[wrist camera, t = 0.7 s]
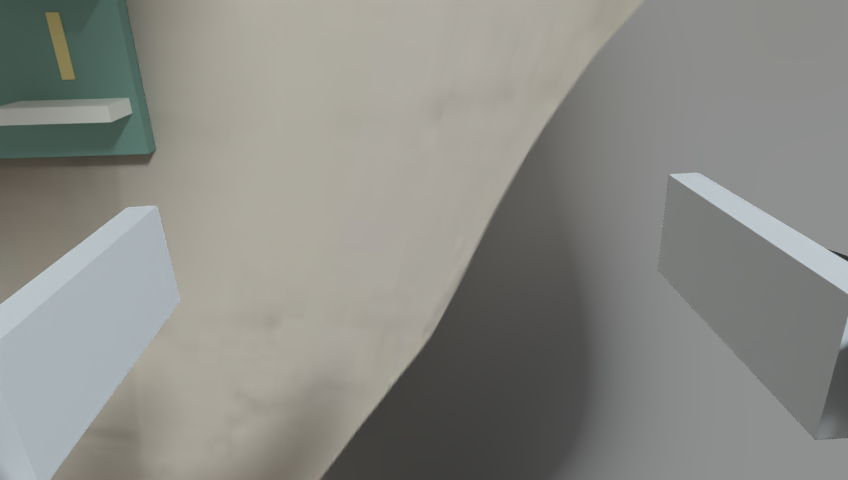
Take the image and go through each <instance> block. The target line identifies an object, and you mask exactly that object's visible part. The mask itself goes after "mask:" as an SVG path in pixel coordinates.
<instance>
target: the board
mask: <svg viewBox="0 0 848 480" xmlns="http://www.w3.org/2000/svg"><path fill="white" fill-rule="evenodd" d="M155 150H156V148H155V144H154V139H153V134H152V129H151V124H150V119H149V114H148V110H147V105H146V100H145V95H144V90H143V85H142V80H141V76H140V71H139V66H138V61H137V56H136V51H135V46H134V41H133V37H132V32H131V27H130V22H129V17H128V12H127V7H126V3H125V0H0V159H10V158H41V157H72V156H103V155H135V154H150V153H151V152H153V151H155Z"/></svg>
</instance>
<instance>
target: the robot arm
mask: <svg viewBox="0 0 848 480" xmlns="http://www.w3.org/2000/svg"><path fill="white" fill-rule="evenodd" d="M658 272H659V273H660V274H661V275H662V276H663V277H664V278H665V279H666V280H667V281H668V282H669V284H670V285H671V286H672V287H673V288H674V289H675V290H676V291H677V292H678V293H679V294H680V295H681V296H682V298H683V299H684V300H685V301H686V302H687V303H688V304H689V305H690V306H691V307H692V308H693V309H694V310H695V311H696V313H698V315H699V316H700V317H701V318H702V319H703V320H704V321H705V322H706V323H707V324H708V325H709V327H711V329H712V330H713V331H714V332H715V333H716V334H717V335H718V336H719V337H720V338H721V339H722V340H723V342H724V343H726V345H727V346H728V347H729V348H730V349H731V350H732V351H733V352H734V353H735V354H736V355H737V357H738V358H739V359H740V360H741V361H742V362H743V363H744V364H745V365H746V366H747V367H748V368H749V369H750V371H751V372H752V373H753V374H754V375H755V376H756V377H757V378H758V379H759V380H760V381H761V382H762V383H763V384H764V385H765V387H766V388H767V389H768V390H769V391H770V392H771V393H772V394H773V395H774V396H775V397H776V398H777V399H778V400H779V402H780V403H781V404H782V405H783V406H784V407H785V408H786V409H787V410H788V411H789V412H790V413H791V414H792V416H793V417H794V418H795V419H796V420H797V421H798V422H799V423H800V424H801V425H802V426H803V427H804V428H805V430H807V432H808V433H809V434H810V435H811V436H812V437H813V438H814V439H815V440H822V439H836V438H837V439H838V438H848V257H847V256H845V255H843V254H840V253H837V252H834V251H831V250H828V249H826V248H824V247H822V246H821V245H819V244H817V243H816V242H814V241H812V240H810V239H809V238H807V237H805V236H804V235H802V234H800V233H799V232H797V231H795V230H793V229H792V228H790V227H788V226H787V225H785V224H783V223H782V222H780V221H778V220H777V219H775V218H774V217H772V216H770V215H768V214H767V213H765V212H763V211H762V210H760V209H758V208H756V207H755V206H753V205H752V204H750V203H748V202H747V201H745V200H743V199H742V198H740V197H738V196H736V195H735V194H733V193H731V192H730V191H728V190H726V189H725V188H723V187H721V186H720V185H718V184H716V183H715V182H713V181H711V180H709V179H708V178H706V177H705V176H703V175H701V174H700V173H685V174H670V175H669V176H668V185H667V194H666V203H665V211H664V220H663V228H662V237H661V247H660V254H659V264H658ZM179 302H180V297H179V293H178V288H177V284H176V280H175V276H174V272H173V268H172V264H171V260H170V256H169V251H168V247H167V243H166V239H165V235H164V231H163V227H162V223H161V219H160V214H159V210H158V206H157V205H156V206H139V207H127V208H125V209H124V210H123V211H122V212H120V213H119V214H118V215H116V216H115V217H114V218H112V219H111V220H110V221H108V222H107V223H106V224H105V225H103V226H102V227H101V228H99V229H98V230H97V231H95V232H94V233H93V234H92V235H90V236H89V237H88V238H86V239H85V240H84V241H82V242H81V243H80V244H78V245H77V246H76V247H75V248H73V249H72V250H71V251H69V252H68V253H67V254H65V255H64V256H63V257H61V258H60V259H59V260H58V261H56V262H55V263H54V264H52V265H51V266H50V267H48V268H47V269H46V270H45V271H43V272H42V273H41V274H39V275H38V276H37V277H35V278H34V279H33V280H31V281H30V282H29V283H28V284H26V285H25V286H24V287H22V288H21V289H20V290H18V291H17V292H16V293H15V294H13V295H12V296H11V297H9V298H8V299H7V300H5V301H4V302H3V303H1V304H0V480H50V479H51V478H52V476H53V475H54V473H55V472H56V471H57V469H58V468H59V467H60V465H61V464H62V462H63V461H64V460H65V458H66V457H67V456H68V454H69V453H70V451H71V450H72V449H73V447H74V446H75V445H76V443H77V442H78V441H79V439H80V438H81V436H82V435H83V434H84V432H85V431H86V430H87V428H88V427H89V425H90V424H91V423H92V421H93V420H94V419H95V417H96V416H97V414H98V413H99V412H100V410H101V409H102V408H103V406H104V405H105V403H106V402H107V401H108V399H109V398H110V397H111V395H112V394H113V392H114V391H115V390H116V388H117V387H118V386H119V384H120V383H121V382H122V380H123V379H124V377H125V376H126V375H127V373H128V372H129V371H130V369H131V368H132V366H133V365H134V364H135V362H136V361H137V360H138V358H139V357H140V355H141V354H142V353H143V351H144V350H145V349H146V347H147V346H148V344H149V343H150V342H151V340H152V339H153V338H154V336H155V335H156V333H157V332H158V331H159V329H160V328H161V327H162V325H163V324H164V323H165V321H166V320H167V318H168V317H169V316H170V314H171V313H172V312H173V310H174V309H175V307H176V306H177V305H178V303H179Z"/></svg>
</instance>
